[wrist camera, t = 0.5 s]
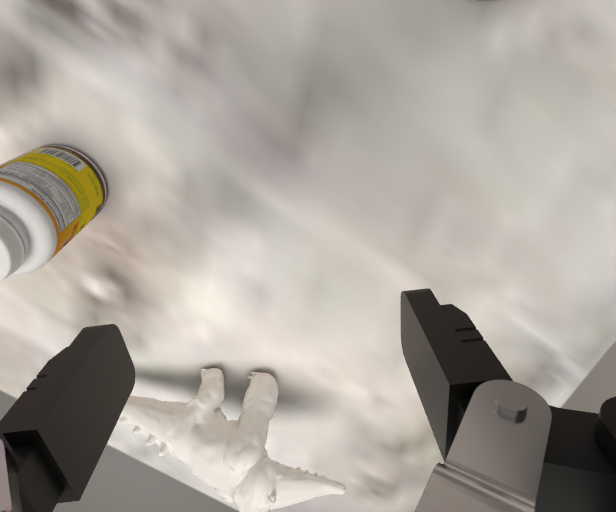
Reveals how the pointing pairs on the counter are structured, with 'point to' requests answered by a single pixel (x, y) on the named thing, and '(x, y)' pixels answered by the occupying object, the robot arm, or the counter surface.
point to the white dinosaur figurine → (227, 444)
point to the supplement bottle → (45, 205)
